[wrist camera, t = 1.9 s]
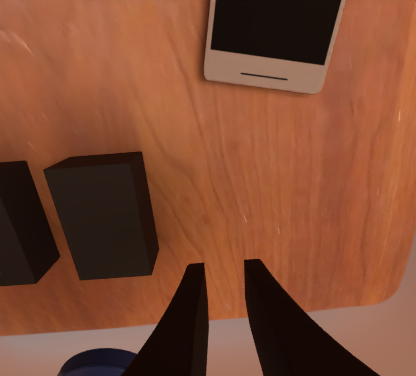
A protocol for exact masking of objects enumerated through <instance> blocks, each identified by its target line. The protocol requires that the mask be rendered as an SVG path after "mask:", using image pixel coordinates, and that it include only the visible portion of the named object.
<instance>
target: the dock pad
mask: <svg viewBox="0 0 416 376" xmlns="http://www.w3.org/2000/svg"><path fill="white" fill-rule="evenodd" d="M59 258H60V255H59V252H58V250H57V247H56V244H55V241H54V238H53V236H52V233H51V230H50V227H49V224H48V222H47V219H46V216H45V213H44V210H43V207H42V205H41V202H40V199H39V196H38V193H37V191H36V188H35V185H34V182H33V179H32V177H31V174H30V171H29V168H28V165H27V163H26V161H16V162H3V163H0V286H12V285H25V284H36V283H37V282H38V281H39V280H40V279H41V278H42V277H43V276H44V275H45V273H46V272H47V271H48V270H49V269H50V268H51V267H52V266H53V264H54V263H55V262H56V261H57V260H58V259H59Z"/></svg>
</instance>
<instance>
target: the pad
mask: <svg viewBox="0 0 416 376" xmlns="http://www.w3.org/2000/svg"><path fill="white" fill-rule="evenodd" d="M43 171H44V174H45V177H46V180H47V183H48V186H49V189H50V192H51V195H52V198H53V201H54V204H55V207H56V210H57V213H58V216H59V219H60V222H61V225H62V228H63V231H64V234H65V237H66V240H67V243H68V246H69V249H70V252H71V255H72V258H73V261H74V264H75V267H76V270H77V273H78V276H79V279H80V280H93V279H107V278H121V277H134V276H148V275H152V272H153V269H154V265H155V262H156V258H157V255H158V252H159V246H158V240H157V235H156V229H155V223H154V218H153V212H152V206H151V201H150V195H149V189H148V184H147V178H146V172H145V167H144V161H143V155H142V152H129V153H117V154H104V155H92V156H79V157H69V158H67V159H65V160H63V161H61V162H59V163H57V164H54V165H52V166H50V167H48V168H46V169H44V170H43Z"/></svg>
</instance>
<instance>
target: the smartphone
mask: <svg viewBox="0 0 416 376" xmlns="http://www.w3.org/2000/svg"><path fill="white" fill-rule="evenodd" d="M345 2H346V0H211V2H210V12H209V21H208V31H207V41H206V50H205V60H204V76H205V78H206V80H209V81H216V82H224V83H231V84H239V85H246V86H253V87H261V88H268V89H276V90H283V91H291V92H298V93H306V94H317V93H318V92H319V91H320V90H321V88H322V86H323V83H324V80H325V76H326V73H327V69H328V65H329V61H330V58H331V54H332V50H333V47H334V43H335V39H336V35H337V32H338V28H339V24H340V20H341V17H342V13H343V9H344V6H345Z"/></svg>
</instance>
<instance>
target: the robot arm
mask: <svg viewBox="0 0 416 376" xmlns="http://www.w3.org/2000/svg"><path fill="white" fill-rule="evenodd" d="M244 273H245V300H246V306H247V312H248V318H249V324H250V328H251V331H252V335H253V339H254V343H255V346H256V350H257V354H258V357H259V361H260V364H261V368H262V372H263V376H380V375H378V374H377V373H376V372H374V371H373V370H372V369H371V368H369V367H368V366H367V365H365V364H364V363H363V362H361V361H360V360H359V359H357V358H356V357H355V356H353V355H352V354H351V353H350V352H349V351H347V350H346V349H345V348H344V347H343V346H341V345H340V344H339V343H338V342H337V341H335V340H334V339H333V338H332V337H331V336H330V335H329V334H328V333H326V332H325V331H324V330H323V329H322V328H321V327H320V326H319V325H318V324H317V323H316V322H314V320H312V319H311V318H310V317H309V316H308V315H307V314H306V313H305V312H304V311H303V310H302V308H301V307H300V306H299V305H298V304H297V303H296V302H295V301H294V300H293V299H292V298H291V297H290V296H289V294H288V293H287V292H286V291H285V290H284V289H283V288H282V287H281V285H280V284H279V283H278V282H277V281H276V279H275V278H274V277H273V276H272V274H271V273H270V272H269V270H268V269H267V268H266V266H265V265H264V264H263V262H262V261H261V260H260V259H249V260H244ZM208 331H209V319H208V298H207V288H206V278H205V268H204V263H195V264H189V265H188V266H187V268H186V271H185V273H184V276H183V278H182V280H181V283H180V285H179V287H178V289H177V291H176V293H175V295H174V297H173V299H172V300H171V302H170V304H169V306H168V308H167V310H166V311H165V313H164V315H163V316H162V318H161V320H160V321H159V323H158V325H157V326H156V328H155V329H154V331H153V333H152V334H151V335H150V337H149V338H148V340H147V341H146V343H145V344H144V346H143V347H142V348H141V350H140V351H139V352H138V354H137V355H136V356H135V358H134V359H133V360H132V362H131V363H130V364H129V365H128V367H127V368H126V369H125V371H124V372H123V373H122V374H121V376H206V366H207V348H208Z"/></svg>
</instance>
